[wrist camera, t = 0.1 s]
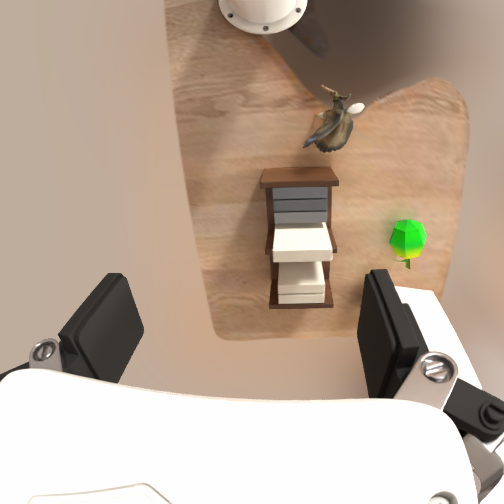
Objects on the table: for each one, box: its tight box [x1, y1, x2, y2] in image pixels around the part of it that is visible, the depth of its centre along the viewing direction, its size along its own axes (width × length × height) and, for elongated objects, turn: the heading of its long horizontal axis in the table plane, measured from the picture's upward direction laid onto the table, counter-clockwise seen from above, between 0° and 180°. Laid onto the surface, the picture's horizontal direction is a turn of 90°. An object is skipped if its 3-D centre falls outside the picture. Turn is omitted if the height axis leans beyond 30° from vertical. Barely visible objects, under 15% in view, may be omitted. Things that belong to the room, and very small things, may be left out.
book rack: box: [260, 167, 339, 309], centre depth 46 cm, size 20×10×8 cm, turn 5°
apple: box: [390, 220, 426, 269], centre depth 45 cm, size 7×6×9 cm
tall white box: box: [360, 286, 482, 390], centre depth 41 cm, size 14×6×30 cm, turn 83°
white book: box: [273, 222, 333, 262], centre depth 42 cm, size 2×7×13 cm, turn 95°
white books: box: [278, 261, 325, 304], centre depth 49 cm, size 4×7×7 cm, turn 95°
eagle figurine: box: [303, 85, 364, 153], centre depth 38 cm, size 8×7×9 cm
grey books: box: [272, 186, 327, 224], centre depth 42 cm, size 5×7×7 cm
